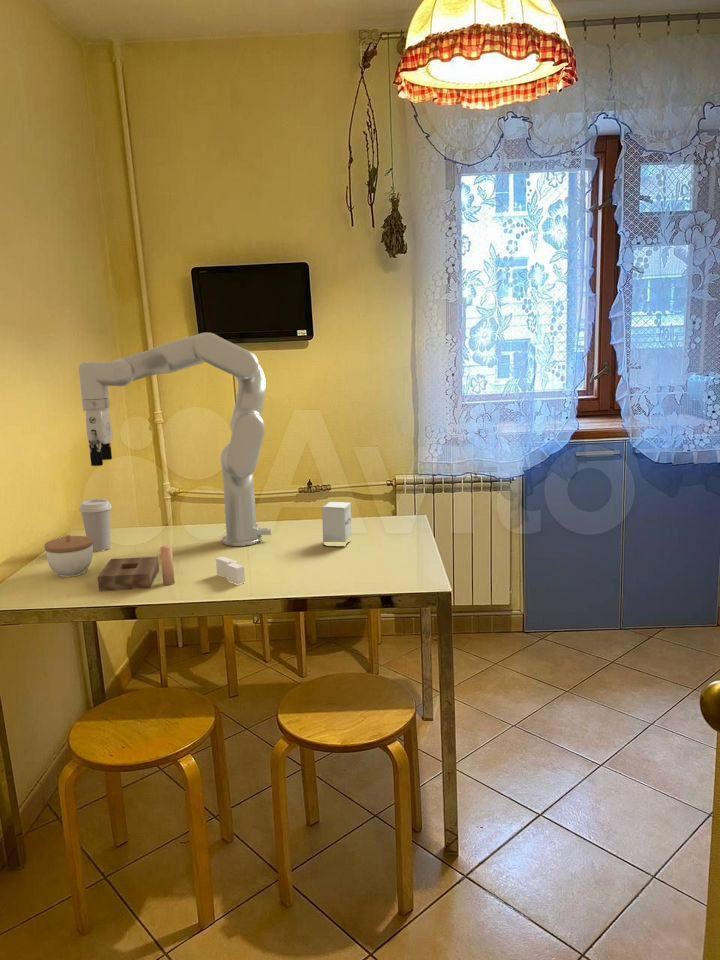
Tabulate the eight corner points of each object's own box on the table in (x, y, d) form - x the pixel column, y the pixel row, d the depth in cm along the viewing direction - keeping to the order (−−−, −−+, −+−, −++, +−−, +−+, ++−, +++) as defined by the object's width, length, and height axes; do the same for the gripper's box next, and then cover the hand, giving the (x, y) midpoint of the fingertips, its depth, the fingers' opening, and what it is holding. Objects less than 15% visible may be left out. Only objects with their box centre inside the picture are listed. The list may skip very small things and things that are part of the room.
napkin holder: (211, 574, 210) (210, 554, 208) (252, 571, 211) (251, 552, 210) (205, 592, 195) (204, 571, 194) (249, 590, 196) (248, 569, 195)
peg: (175, 580, 203) (172, 545, 201) (173, 584, 200) (170, 548, 198) (164, 581, 203) (161, 545, 201) (162, 585, 200) (159, 549, 198)
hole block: (159, 570, 212) (158, 556, 212) (149, 588, 198) (148, 573, 197) (112, 572, 211) (111, 558, 211) (98, 591, 197) (97, 576, 196)
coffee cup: (120, 544, 239) (115, 498, 236) (109, 553, 230) (105, 505, 227) (90, 544, 239) (85, 498, 236) (78, 553, 230) (73, 505, 227)
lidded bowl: (50, 583, 204) (46, 544, 201) (45, 570, 214) (41, 533, 212) (99, 575, 209) (95, 537, 207) (91, 563, 220) (87, 526, 218)
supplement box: (345, 548, 229) (344, 507, 226) (322, 546, 231) (321, 506, 228) (352, 541, 236) (351, 502, 233) (330, 539, 238) (328, 501, 235)
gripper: (100, 407, 210) (106, 467, 214) (116, 401, 227) (122, 456, 231) (73, 408, 210) (80, 468, 213) (91, 402, 227) (97, 457, 230)
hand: (101, 462), depth 222 cm, fingers open, 9 cm apart
